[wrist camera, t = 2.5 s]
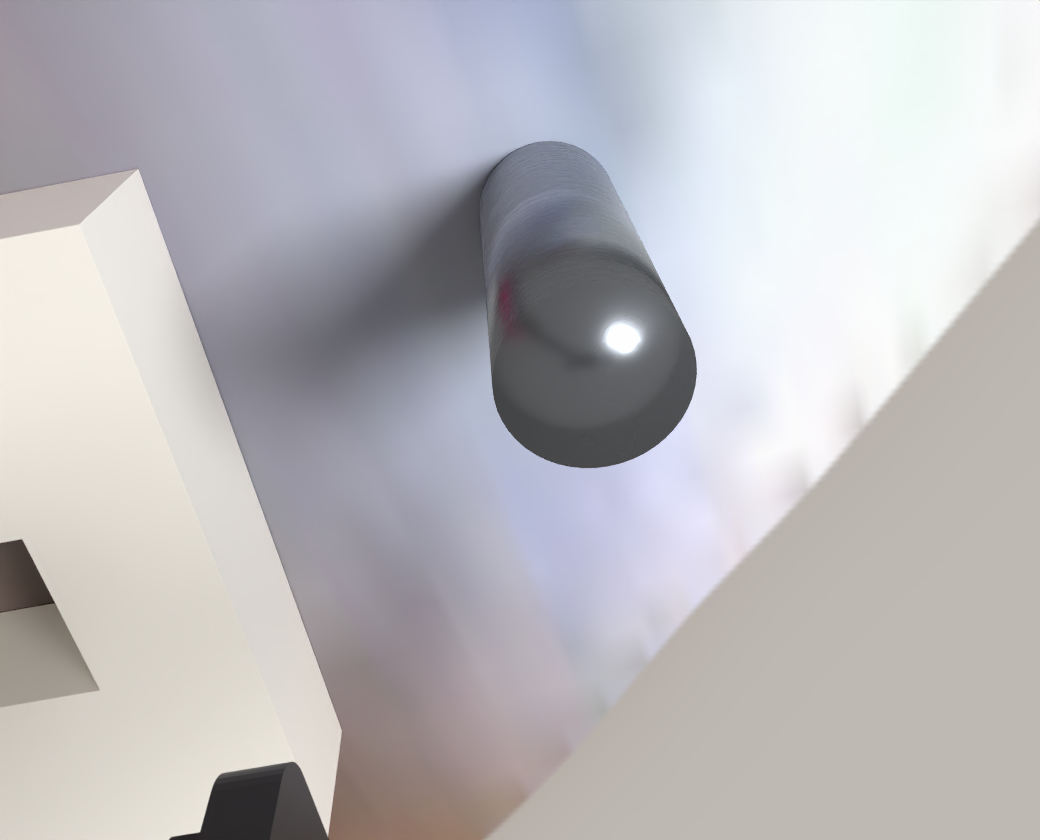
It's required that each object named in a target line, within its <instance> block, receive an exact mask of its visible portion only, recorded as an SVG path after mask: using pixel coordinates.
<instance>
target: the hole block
mask: <svg viewBox="0 0 1040 840" xmlns="http://www.w3.org/2000/svg"><path fill="white" fill-rule="evenodd" d="M20 539H22V540H23V542H24V543H25V545H26V547H27V549H28V551H29V553H30V555H31V557H32V559H33V561H34V563H35V565H36V567H37V569H38V571H39V573H40V575H41V577H42V578H43V580H44V582H45V584H46V586H47V588H48V590H49V592H50V594H51V596H52V598H53V600H54V602H55V603H53V604H47V605H42V606H36V607H30V608H25V609H19V610H13V611H8V612H2V613H0V840H169V839H170V838H171V837H174V836H180V835H186V834H192V833H198V832H200V830H201V827H202V823H203V819H204V816H205V812H206V808H207V805H208V801H209V797H210V794H211V790H212V787H213V784H214V782H215V780H216V779H217V777H218V776H219V775H220V774H222V773H226V772H232V771H238V770H244V769H250V768H257V767H263V766H269V765H275V764H281V763H287V762H295V763H296V764H297V765H298V766H299V767H300V769H301V771H302V773H303V775H304V778H305V780H306V783H307V785H308V788H309V790H310V793H311V795H312V798H313V800H314V803H315V806H316V808H317V811H318V813H319V816H320V818H321V821H322V823H323V826H324V828H325V831H326V833H327V836H328V832H329V824H330V817H331V809H332V802H333V794H334V786H335V779H336V771H337V764H338V756H339V748H340V741H341V733H342V730H341V727H340V724H339V722H338V719H337V716H336V713H335V711H334V708H333V705H332V702H331V699H330V697H329V694H328V691H327V688H326V686H325V683H324V680H323V677H322V675H321V672H320V669H319V666H318V664H317V661H316V658H315V655H314V653H313V650H312V647H311V644H310V642H309V639H308V636H307V633H306V630H305V628H304V625H303V622H302V619H301V617H300V614H299V611H298V608H297V606H296V603H295V600H294V597H293V595H292V592H291V589H290V586H289V584H288V581H287V578H286V575H285V573H284V570H283V567H282V564H281V561H280V559H279V556H278V553H277V550H276V548H275V545H274V542H273V539H272V537H271V534H270V531H269V528H268V526H267V523H266V520H265V517H264V515H263V512H262V509H261V506H260V504H259V501H258V498H257V495H256V492H255V490H254V487H253V484H252V481H251V479H250V476H249V473H248V470H247V468H246V465H245V462H244V459H243V457H242V454H241V451H240V448H239V446H238V443H237V440H236V437H235V435H234V432H233V429H232V426H231V424H230V421H229V418H228V415H227V412H226V410H225V407H224V404H223V401H222V399H221V396H220V393H219V390H218V388H217V385H216V382H215V379H214V377H213V374H212V371H211V368H210V366H209V363H208V360H207V357H206V355H205V352H204V349H203V346H202V343H201V341H200V338H199V335H198V332H197V330H196V327H195V324H194V321H193V319H192V316H191V313H190V310H189V308H188V305H187V302H186V299H185V297H184V294H183V291H182V288H181V286H180V283H179V280H178V277H177V274H176V272H175V269H174V266H173V263H172V261H171V258H170V255H169V252H168V250H167V247H166V244H165V241H164V239H163V236H162V233H161V230H160V228H159V225H158V222H157V219H156V217H155V214H154V211H153V208H152V205H151V203H150V200H149V197H148V194H147V192H146V189H145V186H144V183H143V181H142V178H141V175H140V172H139V170H138V169H135V170H129V171H124V172H119V173H114V174H108V175H103V176H98V177H92V178H87V179H82V180H77V181H71V182H66V183H61V184H56V185H50V186H45V187H40V188H34V189H29V190H24V191H19V192H13V193H8V194H3V195H0V543H3V542H8V541H14V540H20Z"/></svg>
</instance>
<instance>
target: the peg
mask: <svg viewBox="0 0 1040 840" xmlns="http://www.w3.org/2000/svg"><path fill="white" fill-rule="evenodd" d="M480 226H481V239H482V253H483V266H484V280H485V293H486V307H487V320H488V334H489V347H490V361H491V374H492V387H493V395H494V400H495V404H496V407H497V411H498V413H499V415H500V417H501V419H502V421H503V423H504V424H505V426H506V428H507V429H508V431H509V432H510V433H511V434H512V435H513V436H514V438H515V439H516V440H517V441H518V442H519V443H521V444H522V445H523V446H524V447H525V448H527V449H528V450H530V451H531V452H533V453H534V454H536V455H538V456H540V457H542V458H544V459H546V460H548V461H551V462H554V463H557V464H561V465H565V466H569V467H578V468H598V467H606V466H611V465H615V464H620V463H623V462H626V461H628V460H631V459H634V458H636V457H638V456H640V455H642V454H644V453H646V452H647V451H649V450H650V449H652V448H653V447H655V446H656V445H657V444H659V443H660V442H661V441H662V440H664V439H665V438H666V437H667V436H668V435H669V434H670V433H671V432H672V431H673V430H674V428H675V427H676V426H677V424H678V423H679V422H680V421H681V419H682V417H683V416H684V414H685V412H686V410H687V409H688V406H689V404H690V401H691V399H692V396H693V392H694V389H695V383H696V375H697V368H696V357H695V351H694V348H693V345H692V342H691V339H690V337H689V335H688V333H687V331H686V329H685V327H684V325H683V323H682V321H681V319H680V317H679V315H678V313H677V311H676V309H675V307H674V305H673V303H672V301H671V299H670V297H669V295H668V293H667V291H666V289H665V287H664V285H663V283H662V281H661V279H660V277H659V275H658V273H657V271H656V269H655V267H654V265H653V263H652V261H651V259H650V257H649V255H648V254H647V252H646V250H645V248H644V246H643V244H642V242H641V240H640V238H639V236H638V234H637V232H636V230H635V228H634V226H633V224H632V222H631V220H630V218H629V216H628V214H627V212H626V210H625V208H624V206H623V204H622V202H621V200H620V198H619V196H618V194H617V192H616V190H615V188H614V186H613V184H612V182H611V180H610V178H609V176H608V174H607V172H606V171H605V170H604V168H603V167H602V165H601V164H600V163H599V162H598V161H597V160H596V159H595V158H594V157H592V156H591V155H590V154H589V153H587V152H586V151H584V150H582V149H580V148H578V147H576V146H574V145H570V144H567V143H562V142H555V141H545V142H537V143H533V144H529V145H526V146H524V147H521V148H519V149H517V150H515V151H514V152H512V153H510V154H509V155H508V156H506V157H505V158H504V159H503V160H502V161H501V162H500V163H499V164H498V165H497V166H496V167H495V168H494V170H493V171H492V172H491V174H490V175H489V177H488V179H487V181H486V183H485V185H484V188H483V191H482V195H481V200H480Z"/></svg>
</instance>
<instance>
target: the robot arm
mask: <svg viewBox="0 0 1040 840" xmlns="http://www.w3.org/2000/svg"><path fill="white" fill-rule="evenodd" d="M169 840H329V838H328V836H327V833H326V831H325V828H324V826H323V823H322V821H321V818H320V816H319V813H318V811H317V808H316V806H315V803H314V800H313V798H312V795H311V793H310V790H309V788H308V785H307V783H306V780H305V778H304V775H303V773H302V771H301V769H300V767H299V766H298V765H297V764H296V763H295V762H287V763H281V764H275V765H269V766H263V767H257V768H250V769H244V770H238V771H232V772H226V773H222V774H220V775H219V776H218V777H217V779H216V780H215V782H214V784H213V787H212V790H211V794H210V797H209V801H208V805H207V808H206V812H205V816H204V819H203V823H202V827H201V830H200V832H198V833H192V834H186V835H180V836H174V837H171V838H170V839H169Z"/></svg>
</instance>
